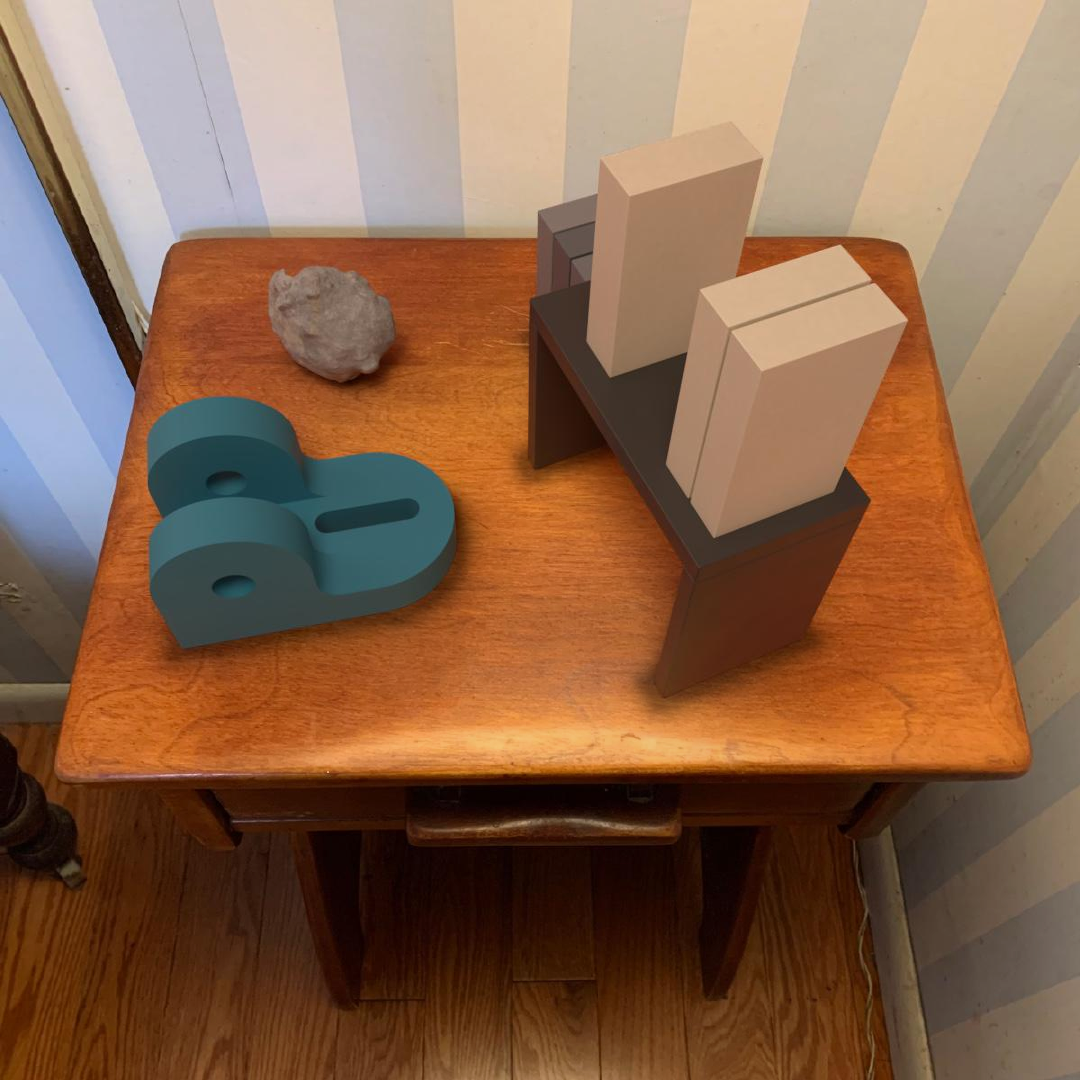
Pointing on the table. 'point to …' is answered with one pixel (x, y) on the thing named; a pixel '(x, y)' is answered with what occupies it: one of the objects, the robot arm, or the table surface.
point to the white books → (778, 386)
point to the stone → (331, 321)
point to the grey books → (565, 244)
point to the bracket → (283, 526)
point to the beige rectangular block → (666, 240)
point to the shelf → (683, 501)
